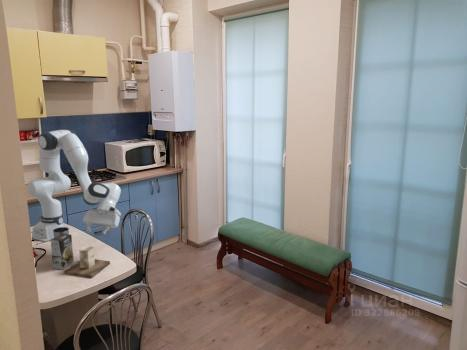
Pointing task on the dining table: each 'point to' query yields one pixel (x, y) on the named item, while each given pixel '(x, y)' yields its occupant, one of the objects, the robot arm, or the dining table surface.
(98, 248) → the dining table surface
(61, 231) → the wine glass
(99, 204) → the robot arm
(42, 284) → the dining table surface
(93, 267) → the walnut board
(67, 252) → the coffee box
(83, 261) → the maple block
